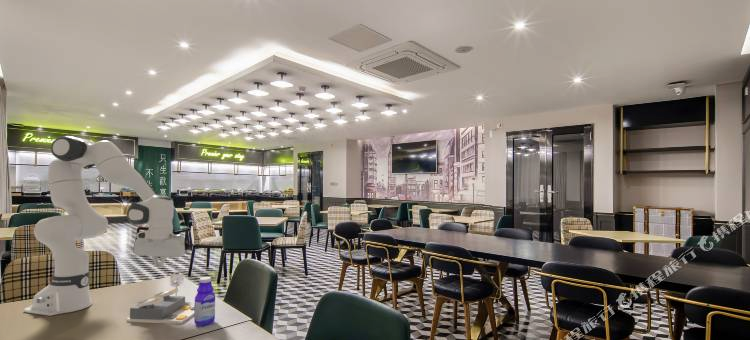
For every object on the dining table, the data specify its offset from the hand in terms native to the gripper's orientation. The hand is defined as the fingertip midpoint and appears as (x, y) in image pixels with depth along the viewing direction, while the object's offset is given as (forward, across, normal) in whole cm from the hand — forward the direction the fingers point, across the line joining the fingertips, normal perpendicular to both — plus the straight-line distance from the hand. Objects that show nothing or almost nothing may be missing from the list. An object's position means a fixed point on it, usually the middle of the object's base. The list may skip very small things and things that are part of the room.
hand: (159, 266), depth 151 cm
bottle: (+18, -27, +12) cm, 34 cm away
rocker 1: (+12, -4, +10) cm, 16 cm away
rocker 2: (+12, -4, 0) cm, 12 cm away
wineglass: (+18, -1, -12) cm, 22 cm away
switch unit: (+18, -8, +5) cm, 20 cm away
